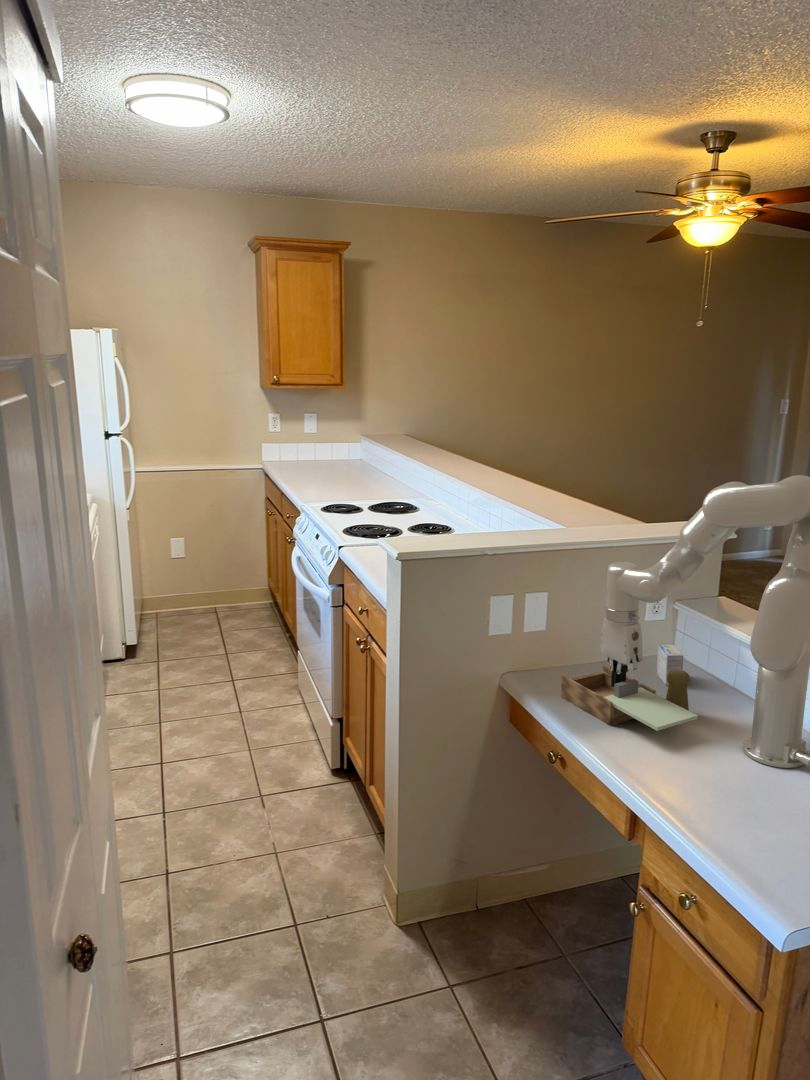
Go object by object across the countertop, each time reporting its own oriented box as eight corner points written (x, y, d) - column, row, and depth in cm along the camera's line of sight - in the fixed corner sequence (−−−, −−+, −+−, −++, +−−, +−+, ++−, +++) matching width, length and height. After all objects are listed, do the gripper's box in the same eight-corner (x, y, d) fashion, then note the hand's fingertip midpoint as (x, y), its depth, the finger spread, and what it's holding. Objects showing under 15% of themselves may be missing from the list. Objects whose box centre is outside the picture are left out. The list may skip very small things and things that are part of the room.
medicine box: (682, 686, 198) (684, 655, 196) (665, 686, 198) (667, 655, 196) (672, 674, 205) (674, 644, 204) (656, 674, 206) (657, 644, 204)
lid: (697, 718, 169) (698, 703, 168) (656, 730, 164) (657, 714, 163) (641, 690, 184) (641, 675, 184) (602, 700, 179) (602, 685, 178)
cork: (657, 711, 183) (659, 669, 181) (677, 707, 185) (680, 665, 183) (674, 721, 178) (677, 678, 175) (694, 717, 180) (698, 674, 177)
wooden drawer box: (654, 713, 182) (655, 690, 181) (609, 725, 176) (610, 702, 175) (603, 686, 198) (604, 665, 197) (561, 697, 192) (561, 675, 191)
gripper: (656, 620, 174) (652, 694, 178) (612, 603, 187) (609, 673, 191) (632, 626, 170) (628, 701, 174) (588, 608, 184) (585, 678, 188)
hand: (618, 686), depth 183 cm, fingers closed
